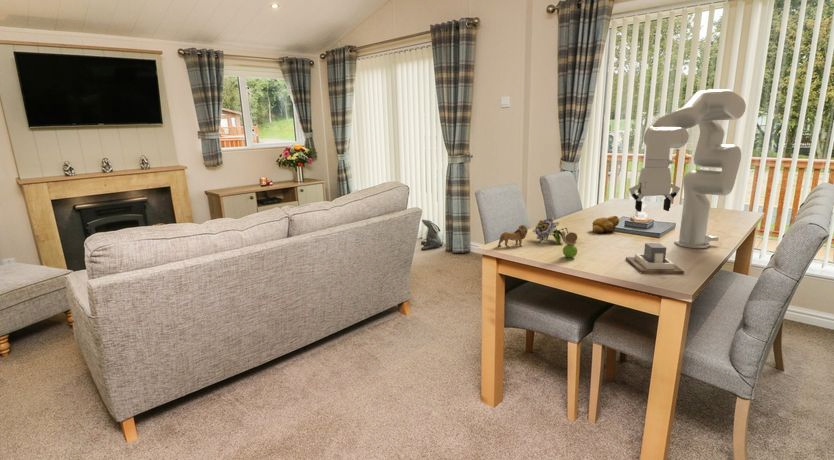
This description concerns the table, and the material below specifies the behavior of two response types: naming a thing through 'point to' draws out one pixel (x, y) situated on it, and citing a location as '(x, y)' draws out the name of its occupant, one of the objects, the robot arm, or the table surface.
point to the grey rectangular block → (654, 253)
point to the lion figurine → (514, 236)
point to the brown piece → (653, 266)
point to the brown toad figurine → (605, 224)
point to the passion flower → (548, 230)
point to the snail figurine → (569, 244)
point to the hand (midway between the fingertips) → (652, 210)
